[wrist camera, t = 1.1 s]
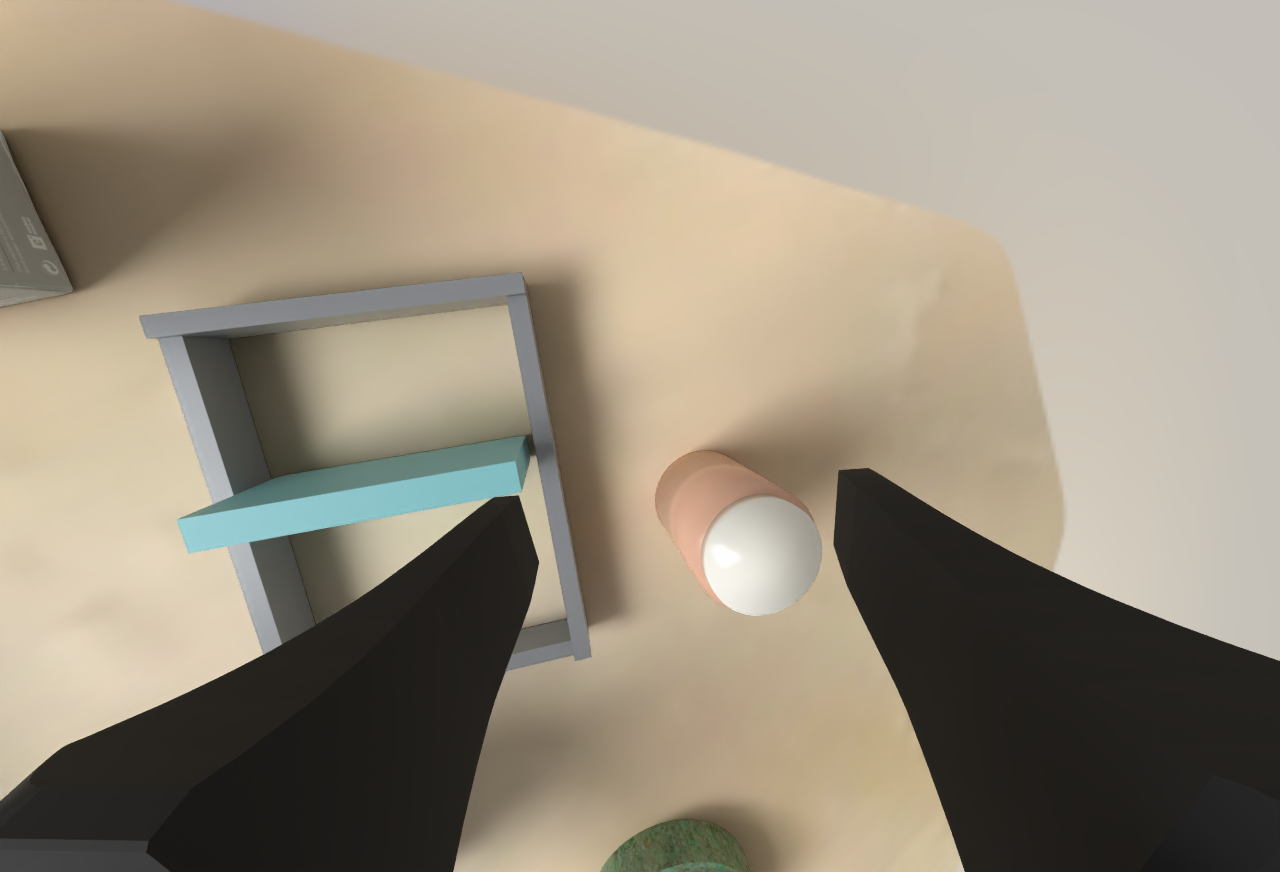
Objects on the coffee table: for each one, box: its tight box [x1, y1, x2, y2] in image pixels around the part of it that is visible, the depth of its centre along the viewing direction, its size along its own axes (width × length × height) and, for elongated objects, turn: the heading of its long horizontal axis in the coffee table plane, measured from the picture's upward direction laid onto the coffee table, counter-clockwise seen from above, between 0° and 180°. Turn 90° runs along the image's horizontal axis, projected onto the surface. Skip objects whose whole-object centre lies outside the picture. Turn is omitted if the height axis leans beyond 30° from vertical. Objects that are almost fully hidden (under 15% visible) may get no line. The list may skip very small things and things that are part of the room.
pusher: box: [177, 435, 530, 553], centre depth 19 cm, size 1×11×6 cm, turn 98°
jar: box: [655, 451, 822, 616], centre depth 21 cm, size 5×5×8 cm
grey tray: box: [139, 272, 591, 671], centre depth 21 cm, size 18×14×3 cm
